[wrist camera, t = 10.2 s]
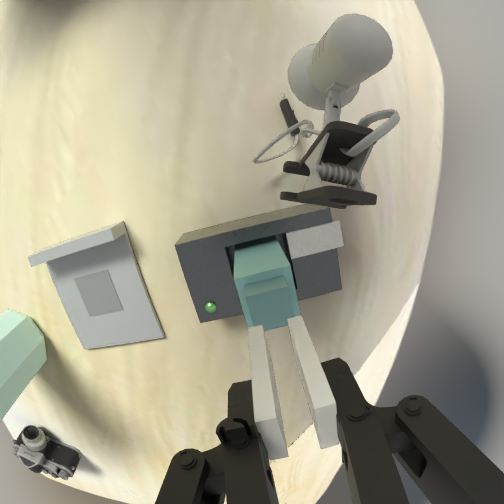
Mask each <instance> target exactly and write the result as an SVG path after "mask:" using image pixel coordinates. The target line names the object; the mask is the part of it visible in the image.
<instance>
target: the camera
mask: <svg viewBox="0 0 504 504" xmlns="http://www.w3.org/2000/svg"><path fill="white" fill-rule="evenodd" d="M14 441H15V442H14ZM13 443H14V446H13V448H14V449H15V450H14V452H13V453H14V455H15V456H17V457H18V458H20V459H21V461H22V463H23V464H24V465H25V466H26V467H27V468H29V469H30V470H32V471H33V472H35V473H40V472H41V471H43V472H44V473H46V474H51V475H52V476H53V477H54V478H57V477H58V478H59V477H61V478H62V479H64V480H68V478H69V477H73V475H74V472H75V470H76V468H77V465H78V463H79V460H80V458H81V452H80V451H79V450H78V449H77V448H75V447H73V446H70V445H67V444H65V443H62V442H60V441H57V440H55V439H52V438H50V437H48V436H45V434H44V432H43V431H42V430H41V429H40V428H37V427H36V426H33V425H29V426H26V427H24V429H23V430H22V432H21V433H20V435H19V437H18V438H17V440H13Z"/></svg>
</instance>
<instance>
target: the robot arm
mask: <svg viewBox="0 0 504 504" xmlns="http://www.w3.org/2000/svg"><path fill="white" fill-rule="evenodd" d="M287 321H288V326H289V330H290V335H291V340H292V345H293V349H294V354H295V359H296V362H297V366H298V369H299V373H300V376H301V380H302V383H303V387H304V390H305V394H306V397H307V401H308V405H309V408H310V412H311V415H312V419H313V422H314V426H315V430H316V433H317V437H318V440H319V444H320V448H321V449H324V448H327V447H331V446H334V445H338V444H339V441H340V444H341V447H342V463H343V462H344V465H345V470H346V474H347V479H348V483H349V488H350V492H351V497H352V501H353V504H409V502H408V499H407V496H406V493H405V490H404V487H403V484H402V481H401V478H400V476H399V472H398V470H397V467H396V464H395V461H394V459H393V456H392V453H393V455H394V456H395V457H396V459H397V460H398V461H399V462H400V464H401V465H402V466H403V468H404V469H405V470H406V471H407V473H408V474H409V475H410V476H411V478H412V479H413V480H414V481H415V483H416V484H417V486H418V487H419V488H420V489H421V491H422V492H423V493H424V495H425V496H426V497H427V498H428V500H429V501H430V502H431V503H432V504H504V473H503V472H502V471H501V470H500V469H499V468H498V467H497V466H496V465H495V464H494V463H493V462H492V461H491V460H490V459H489V458H487V457H486V456H485V455H484V454H483V453H482V452H481V451H480V450H479V449H478V448H477V447H476V446H475V445H474V444H473V443H472V442H471V441H470V440H469V439H468V438H467V437H466V436H465V435H464V434H463V433H462V432H461V431H459V429H458V428H456V427H455V426H454V425H453V424H452V423H451V422H450V421H449V420H448V419H447V418H446V417H445V416H444V415H443V414H442V413H441V412H440V411H439V410H438V409H437V408H436V407H435V406H433V405H432V404H431V403H430V402H429V401H428V400H427V399H426V398H424V397H422V396H418V395H412V396H408V397H405V398H404V399H402V400H401V401H400V402H399V403H398V405H397V406H395V407H384V408H380V407H375V406H373V405H371V404H369V403H368V402H367V401H366V400H365V398H364V396H363V394H362V392H361V390H360V388H359V386H358V384H357V382H356V380H355V378H354V376H353V374H352V372H351V370H350V368H349V366H348V364H347V363H346V362H345V361H343V360H342V359H340V358H336V359H332V360H329V361H325V362H322V363H320V361H319V358H318V356H317V353H316V351H315V348H314V346H313V343H312V341H311V338H310V336H309V333H308V331H307V328H306V326H305V323H304V321H303V318H302V316H301V315H300V316H296V317H292V318H288V319H287ZM248 337H249V351H250V366H251V380H248V381H243V382H238V383H233V384H232V386H231V388H230V389H229V391H228V418H226V419H224V420H223V421H221V422H220V423H219V425H218V426H217V428H216V434H217V436H218V438H219V439H220V441H221V444H220V445H219V446H217V447H215V448H213V449H210V450H208V451H205V452H200V451H199V450H196V449H184V450H182V451H179V452H178V453H177V454H176V455H174V457H173V459H172V460H171V463H170V466H169V468H168V471H167V473H166V476H165V479H164V481H163V484H162V486H161V489H160V492H159V494H158V497H157V500H156V502H155V504H224V500H225V495H226V498H227V504H279V502H278V497H277V493H276V488H275V484H274V479H273V474H272V470H271V468H270V466H269V459H270V460H275V459H280V458H285V457H288V451H287V445H286V439H285V434H284V428H283V422H282V416H281V411H280V405H279V399H278V393H277V387H276V382H275V376H274V370H273V364H272V360H271V357H270V353H269V349H268V345H267V341H266V338H265V334H264V330H263V326H262V325H259V326H255V327H250V328H248ZM268 457H269V458H268Z"/></svg>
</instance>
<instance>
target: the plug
mask: <svg viewBox="0 0 504 504" xmlns="http://www.w3.org/2000/svg"><path fill="white" fill-rule="evenodd" d="M234 282H235V285H236V289H237V292H238V296H239V299H240V303H241V306H242V309H243V313H244V316H245V319H246V323H247V326H248V327H252V326H253V327H255V326H259V325H262V326H263V330H264V331H266V330H270V329H275V328H279V327H283V326H287V325H288V321H287V319H288V318H292V317H295V316H297V315H300V309H299V304H298V300H297V295H296V290H295V285H294V280H293V275H292V271H291V266H290V264H289V262H288V260H287V258H286V256H285V254H284V252H283V250H282V248H281V246H280V244H279V242H278V240H277V238H276V236H275V235H272V236H268V237H264V238H260V239H256V240H252V241H247V242H243V243H239V244H235V253H234Z"/></svg>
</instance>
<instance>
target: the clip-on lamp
mask: <svg viewBox="0 0 504 504" xmlns="http://www.w3.org/2000/svg"><path fill="white" fill-rule="evenodd" d="M392 54H393V48H392V42H391V39H390V37H389V35H388V33H387V32H386V30H385V29H384V28H383V27H382V26H381V25H380V24H379V23H378V22H376V21H375V20H373V19H371V18H369V17H367V16H364V15H359V14H345V15H343V16H341V17H339V18H337V19H336V21H335V22H334V23H333V24H332V25H331V27H330V28H329V29H328V31H327V32H326V33H325V35H324V36H323V37H322V38H321V40H320V41H319V42H318V43H317V44H312V45H308V46H306V47H305V48H303V49H301V50H299V51H298V52H297V53H296V55H295V56H294V57H293V58H292V59H291V62H290V65H289V68H288V82H289V84H290V87H291V90H292V92H293V93H294V94H295V96H296V97H297V98H298V99H299V100H300V101H301V102H303V103H304V104H306V105H307V106H309V107H312V108H314V109H317V110H325V114H324V122H323V130H322V132H320V131H317V130H313V129H314V125H313V123H312V122H311V121H308V120H304V121H301V122H298V121H297V120H296V118H295V115H294V110H292V109H291V107H290V104H289V102H288V100H287V99H284V98H285V94H281V102H280V107H281V109H282V112H283V114H284V117H285V119H286V122H287V124H288V127H289V129H287V130H286V131H284V132H283V133H282V134H280V135H279V136H278V137H276V138H275V139H274V140H273V141H271V142H270V143H269V144H268V145H267V146H266V147H264V148H263V149H262V150H261V151H260V152H259V153H258V154H257V155H256V156H255V157H254V159H253V162H254V163H255V164H256V163H262V162H266V161H269V160H272V159H275V158H277V157H280V156H282V155H284V154H286V153H287V152H289V151H291V150H292V149H293V148H294V147H295V146H296V145H297V143H298V140H299V137H298V134H299V132H300V133H301V135H302V136H303V137H306V138H309V137H310V136H311V135H312V134H316V135H319V136H318V138H317V139H316V140H315V142H314V143H313V145H312V146H311V147H310V149H309V150H308V152H307V153H306V154H305V156H304V157H303V159H302V160H301V162H300V163H299V162H293V161H287V162H285V164H284V167H283V171H284V172H287V173H293V174H299V175H305V176H309V177H308V179H307V182H306V184H305V186H304V188H303V191H302V192H299V193H292V192H281V195H280V199H282V200H288V201H295V202H301V203H308V204H314V205H320V206H326V207H332V208H339V209H344V208H346V206H347V205H375V204H376V200H377V195H375V194H372V193H369V192H366V190H365V188H364V186H363V184H362V183H361V181H360V176H361V172H362V170H363V167H364V165H365V163H366V161H367V159H368V156H369V154H370V152H371V150H372V148H373V145H374V144H376V142H377V140H379V139H380V138H381V137H382V136H384V135H385V134H386V133H388V132H389V131H390V130H391V129H392V128H393V127H394V126H395V125H396V124H397V123H398V122H399V120H400V118H399V114H398V112H397V111H396V110H383V111H378V112H374V113H372V114H369V115H367V116H365V117H364V118H362V119H361V120H360V122H359V123H358V125H355V124H351V123H347V122H342V121H339V120H340V112H341V108H342V107H344V106H345V105H347V104H348V103H350V102H351V101H352V100H353V98H354V97H355V95H356V94H357V92H358V89H359V86H360V83H361V82H363V81H364V80H366V79H367V78H369V77H371V76H372V75H374V74H375V73H377V72H379V71H380V70H382V69H383V68H385V67H386V66H387V65H388V63H389V62H390V60H391V59H392ZM385 118H389V119H388V120H387V121H386V122H384V123H383V124H382V125H381V126H379V127H378V128H377V129H375V130H372V129H370V128H367V127H368V126H369V125H370V124H371V123H373V122H375V121H378V120H381V119H385ZM306 123H307V124H308V126H307V128H304V129H301V131H300V130H299V126H301V125H303V124H306ZM290 132H291V135H292V136H295V142H294V145H293V146H292V147H291V148H290V149H288V150H287V151H285V152H283V153H281V154H279V155H276V156H273V157H271V158H267V159H263V160H258V159H259V157H260V156H261V155H262V154H264V153H265V152H266V151H267V150H268V149H269V148H270V147H272V146H273V145H274V144H275V143H277V142H278V141H279V140H280V139H282V138H283V137H284V136H286V135H287V134H289V133H290ZM322 181H326V182H331V183H337V184H342V185H347V187H346V188H344V187H338V186H323V184H322Z"/></svg>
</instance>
